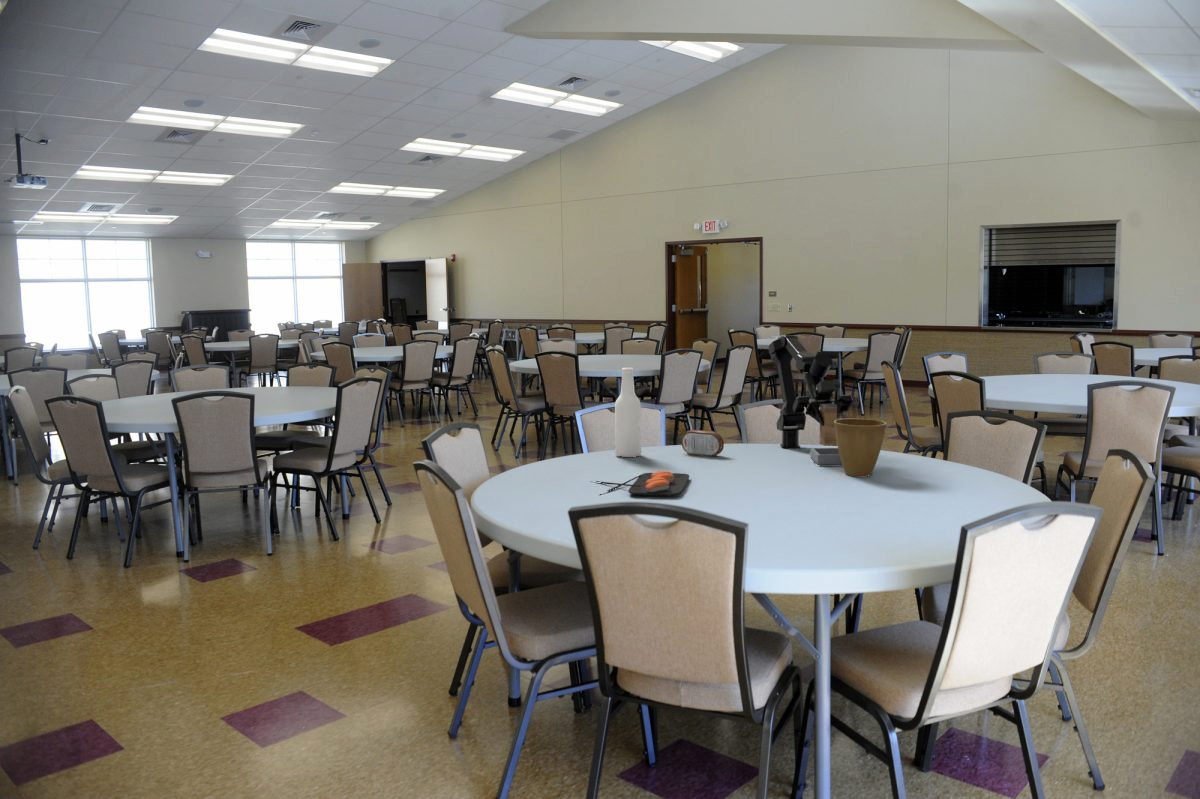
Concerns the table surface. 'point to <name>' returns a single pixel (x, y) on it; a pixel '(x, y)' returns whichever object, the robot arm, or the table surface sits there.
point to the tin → (702, 443)
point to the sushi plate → (656, 484)
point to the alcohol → (627, 418)
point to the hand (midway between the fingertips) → (830, 424)
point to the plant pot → (859, 444)
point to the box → (825, 456)
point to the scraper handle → (828, 424)
